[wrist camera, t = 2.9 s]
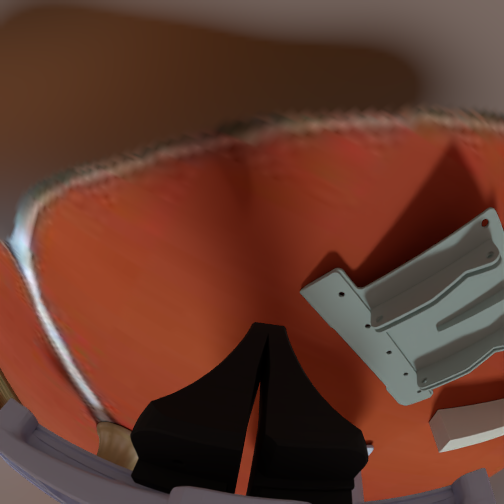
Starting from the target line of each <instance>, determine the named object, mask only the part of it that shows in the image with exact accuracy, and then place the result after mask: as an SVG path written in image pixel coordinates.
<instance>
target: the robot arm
mask: <svg viewBox="0 0 504 504" xmlns="http://www.w3.org/2000/svg"><path fill="white" fill-rule="evenodd" d="M259 383H260V401H259V422H258V431H257V437H256V443H255V449H254V455H253V461H252V466H251V472H250V477H249V483H248V488H247V493H246V496H244V495H238V494H234V493H235V488H236V483H237V478H238V473H239V468H240V463H241V458H242V453H243V447H244V442H245V437H246V431H247V426H248V422H249V418H250V415H251V411H252V408H253V404H254V401H255V397H256V394H257V390H258V386H259ZM130 438H131V442H132V444H133V447H134V449H135V451H136V453H137V456H138V461H137V463H136V465H135V467H134V469H133V471H132V470H129V469H127V468H124V467H122V466H119V465H117V464H114V463H112V462H110V461H107V460H105V459H103V458H101V457H98V456H96V455H94V454H92V453H90V452H88V451H86V450H84V449H82V448H80V447H78V446H76V445H74V444H72V443H70V442H69V441H67V440H65V439H63V438H61V437H60V436H58V435H56V434H55V433H53V432H51V431H49V430H48V429H46V428H45V427H43V426H41V425H40V424H38V421H37V419H36V418H35V416H34V415H33V414H32V412H31V411H30V410H28V409H27V408H26V407H24V406H23V405H21V404H20V403H18V402H17V401H16V400H14V399H13V398H10V399H9V400H8V402H7V403H6V404H5V405H4V406H3V407H2V408H1V410H0V456H1V457H2V459H3V460H4V461H5V462H6V463H7V464H8V465H9V466H10V467H12V468H13V469H14V470H15V471H17V472H18V473H19V474H20V475H22V476H23V477H24V478H25V479H27V480H28V481H29V482H31V483H32V484H34V485H35V486H36V487H38V488H39V489H40V490H42V491H43V492H45V493H46V494H47V495H49V496H51V497H52V498H54V499H55V500H56V501H58V502H60V503H61V504H496V500H495V497H494V493H493V490H492V487H491V484H490V481H489V478H488V475H487V472H486V469H485V468H481V469H478V470H476V471H473V472H470V473H467V474H465V475H463V476H461V477H460V478H458V479H457V480H456V481H455V482H453V484H452V485H449V486H446V487H442V488H439V489H435V490H431V491H427V492H423V493H418V494H413V495H408V496H403V497H397V498H391V499H385V500H377V501H369V502H364V496H363V486H362V476H361V470H362V469H363V468H364V467H365V465H366V464H367V462H368V456H369V454H370V453H371V452H372V451H373V449H374V448H373V445H366V443H365V440H364V437H363V434H362V431H361V430H360V429H358V428H357V427H356V426H354V425H353V424H351V423H350V422H349V421H347V420H346V419H345V418H343V417H342V416H341V415H340V414H339V413H338V412H337V411H336V410H334V409H333V408H332V407H331V406H330V405H329V403H328V402H327V401H326V400H325V399H324V398H323V397H322V396H321V395H320V394H319V392H318V391H317V390H316V388H315V387H314V386H313V384H312V383H311V382H310V380H309V379H308V377H307V376H306V374H305V372H304V371H303V369H302V367H301V365H300V363H299V362H298V360H297V357H296V355H295V353H294V351H293V349H292V346H291V344H290V341H289V338H288V335H287V332H286V328H285V327H284V326H279V325H272V324H265V323H258V322H255V323H253V324H252V326H251V328H250V329H249V331H248V333H247V334H246V335H245V337H244V338H243V340H242V341H241V342H240V343H239V344H238V346H237V347H236V348H235V349H234V350H233V351H232V352H231V353H230V354H229V355H228V356H227V357H226V358H225V359H224V360H223V361H222V362H221V363H220V364H219V365H218V366H216V367H215V368H214V369H213V370H211V371H210V372H209V373H207V374H206V375H204V376H203V377H202V378H200V379H199V380H197V381H195V382H194V383H192V384H190V385H188V386H186V387H185V388H183V389H181V390H179V391H177V392H175V393H172V394H170V395H167V396H165V397H162V398H159V399H157V400H154V401H151V402H150V403H149V405H148V406H147V407H146V408H145V410H144V411H143V412H142V414H141V415H140V416H139V418H138V420H137V422H136V424H135V426H134V428H133V430H132V432H131V434H130Z"/></svg>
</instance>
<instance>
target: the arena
mask: <svg viewBox="0 0 504 504" xmlns="http://www.w3.org/2000/svg"><path fill="white" fill-rule="evenodd" d="M429 424H430V427H431V430H432V433H433V436H434V439H435V442H436V445H437V448H438V451H439V452H444V451H449V450H453V449H458V448H462V447H466V446H470V445H473V444H477V443H480V442H484V441H487V440H490V439H493V438H496V437H499V436H502V435H504V399H500V400H495V401H490V402H485V403H480V404H475V405H469V406H462V407H456V408H448V409H440V410H438V411H437V412H436V414H435V415H434V416H433V418H432V419H431V420H430V422H429Z"/></svg>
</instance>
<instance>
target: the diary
mask: <svg viewBox="0 0 504 504" xmlns="http://www.w3.org/2000/svg"><path fill="white" fill-rule="evenodd" d="M10 398H13V399H14V400H16V401H17V402H18V403H20V404H21V405H22V403H21V402H20V400H19V399H18V397H17V396H16V394H15V392H14V391H13V389H12V388H11V386H10V384H9V383H8V381H7V379H6V378H5V376H4V374H3V372H2V371H1V369H0V410H1V408H2V407H3V406H4V405H5V404H6V403H7V402H8V400H9V399H10Z"/></svg>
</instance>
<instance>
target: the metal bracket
mask: <svg viewBox="0 0 504 504" xmlns="http://www.w3.org/2000/svg"><path fill="white" fill-rule="evenodd" d="M484 219H488V224H487V225H486V226H484V227H483V226H482V224H481V223H482V221H483V220H484ZM340 292H343V293H345V294H344V295H340V294H339V293H340ZM300 293H301V295H302V296H303V297H304V298H305V299H306V300H307V301H308V302H309V303H310V304H311V306H312V307H313V308H314V309H315V310H316V311H317V312H318V313H319V314H320V316H321V317H322V318H323V319H324V320H325V321H326V322H327V323H328V324H329V326H330V327H332V328H334V329H335V330H336V331H337V333H338V334H339V335H340V336H341V337H342V338H343V339H344V340H345V341H346V342H347V343H348V345H349V346H350V347H351V348H352V349H353V350H354V351H355V352H356V353H357V354H358V356H359V357H360V358H361V359H362V360H363V361H364V362H365V363H366V364H367V365H368V367H369V368H370V369H371V370H372V371H373V372H374V373H375V374H376V375H377V376H378V378H379V379H380V380H381V381H382V382H383V383H384V384H385V385H386V387H387V388H386V389H387V391H388V392H389V393H390V394H391V395H392V396H393V397H394V398H395V400H396V401H397V402H398V403H399V404H402V405H404V406H406V405H410V404H413V403H416V402H419V401H421V400H424V399H427V398H429V397H431V396H432V394H433V390H432V389H434V388H437V387H439V386H441V385H444V384H446V383H449V382H451V381H453V380H455V379H458V378H460V377H462V376H464V375H466V374H468V373H470V372H471V371H472V370H474V369H475V368H476V367H478V366H479V365H480V364H481V363H483V362H484V361H485V360H486V359H488V358H489V357H490V356H491V355H492V354H494V353H495V352H499V351H504V231H503V228H502V225H501V223H500V220H499V218H498V215H497V213H496V211H495V209H494V208H491V207H490V208H488V209H486V210H485V211H483V212H482V213H481V214H479V215H478V216H476V217H475V218H474V219H472V220H471V221H469V222H468V223H466V224H465V225H464V226H462V227H461V228H459V229H458V230H456V231H455V232H453V233H452V234H450V235H449V236H447V237H446V238H444V239H443V240H441V241H440V242H438V243H437V244H435V245H433V246H432V247H430V248H429V249H427V250H426V251H424V252H422V253H421V254H419V255H418V256H416V257H414V258H413V259H411V260H409V261H408V262H406V263H405V264H403V265H401V266H400V267H398V268H396V269H394V270H393V271H391V272H389V273H388V274H386V275H384V276H382V277H381V278H379V279H377V280H375V281H374V282H372V283H370V284H368V285H366V286H365V287H362V288H360V287H357V286H356V285H355V284H354V283H353V281H352V280H351V279H350V278H349V276H348V275H347V274H346V273H345V271H344V270H343V269H341V268H335V269H333V270H332V271H330V272H328V273H327V274H325V275H323V276H321V277H320V278H318V279H316V280H315V281H313V282H311V283H310V284H308V285H306V286H305V287H304V288H302V289H301V291H300ZM366 324H370V326H368V327H367V326H365V325H366ZM387 351H391V352H387ZM404 373H406V374H404Z"/></svg>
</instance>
